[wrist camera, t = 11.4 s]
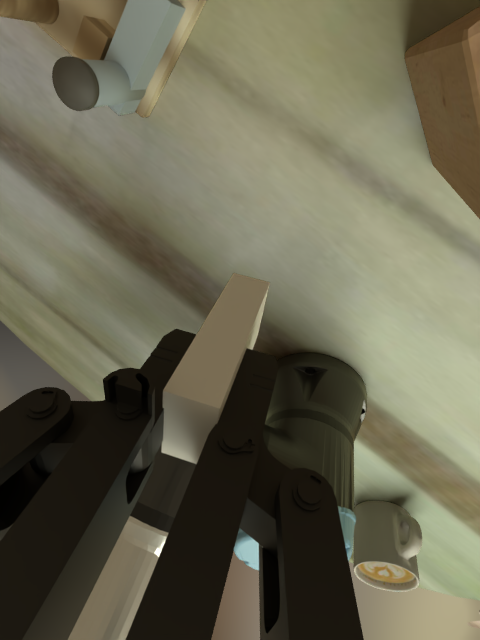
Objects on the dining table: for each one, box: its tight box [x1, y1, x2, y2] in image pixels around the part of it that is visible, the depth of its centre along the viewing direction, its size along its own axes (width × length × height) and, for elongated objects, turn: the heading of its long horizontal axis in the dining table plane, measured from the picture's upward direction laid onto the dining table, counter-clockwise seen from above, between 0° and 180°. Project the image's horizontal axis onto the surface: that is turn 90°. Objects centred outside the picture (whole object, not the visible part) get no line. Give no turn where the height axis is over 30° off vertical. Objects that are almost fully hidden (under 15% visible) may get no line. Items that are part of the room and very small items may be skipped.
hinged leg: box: [52, 0, 186, 115], centre depth 28 cm, size 3×10×9 cm, turn 141°
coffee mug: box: [354, 501, 422, 592], centre depth 60 cm, size 13×10×10 cm
